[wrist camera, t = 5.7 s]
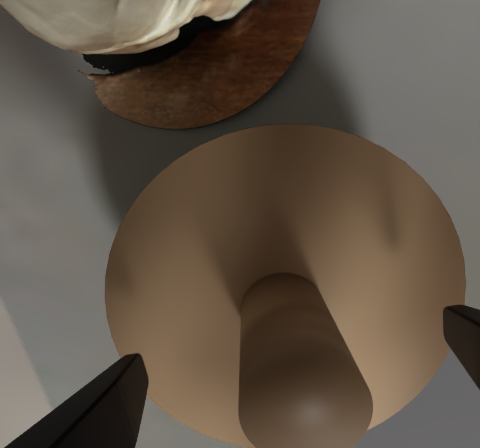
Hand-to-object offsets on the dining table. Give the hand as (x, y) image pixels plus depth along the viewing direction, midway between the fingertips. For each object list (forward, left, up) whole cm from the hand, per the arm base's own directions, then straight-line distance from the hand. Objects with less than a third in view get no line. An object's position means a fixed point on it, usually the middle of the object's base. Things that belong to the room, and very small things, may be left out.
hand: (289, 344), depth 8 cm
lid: (0, 0, -3) cm, 3 cm away
